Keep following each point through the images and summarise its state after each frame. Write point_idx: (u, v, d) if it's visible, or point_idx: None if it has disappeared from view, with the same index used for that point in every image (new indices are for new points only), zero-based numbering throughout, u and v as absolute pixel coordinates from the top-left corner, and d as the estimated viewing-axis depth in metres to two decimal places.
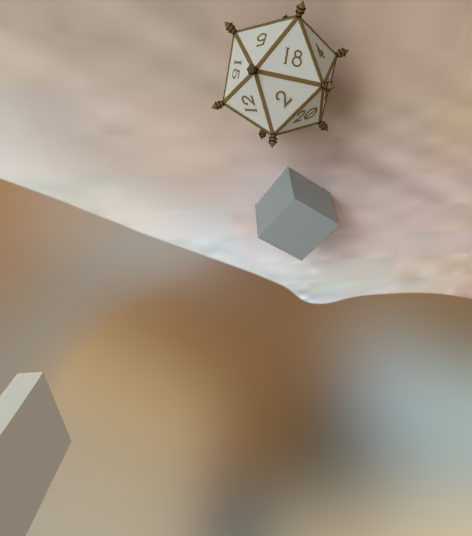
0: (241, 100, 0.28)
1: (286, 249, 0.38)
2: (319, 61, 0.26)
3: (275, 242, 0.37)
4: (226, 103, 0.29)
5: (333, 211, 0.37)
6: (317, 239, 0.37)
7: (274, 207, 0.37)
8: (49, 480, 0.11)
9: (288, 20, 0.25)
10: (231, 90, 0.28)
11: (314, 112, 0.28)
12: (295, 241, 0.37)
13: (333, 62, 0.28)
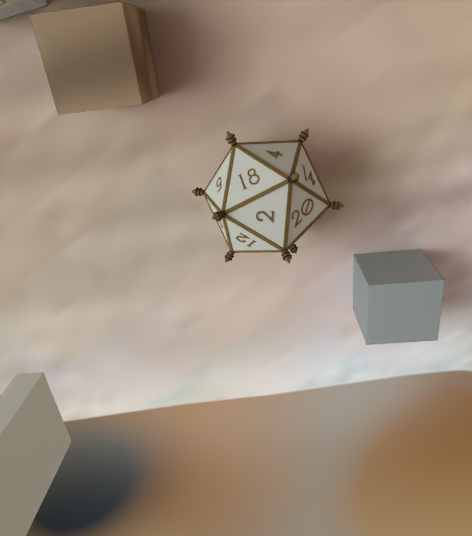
0: (239, 241, 0.26)
1: (408, 338, 0.30)
2: (276, 162, 0.24)
3: (389, 338, 0.30)
4: (234, 250, 0.28)
5: (431, 268, 0.30)
6: (434, 309, 0.29)
7: (362, 303, 0.31)
8: (49, 480, 0.11)
9: (229, 153, 0.25)
10: (227, 238, 0.27)
11: (311, 203, 0.25)
12: (411, 325, 0.30)
13: (297, 150, 0.25)
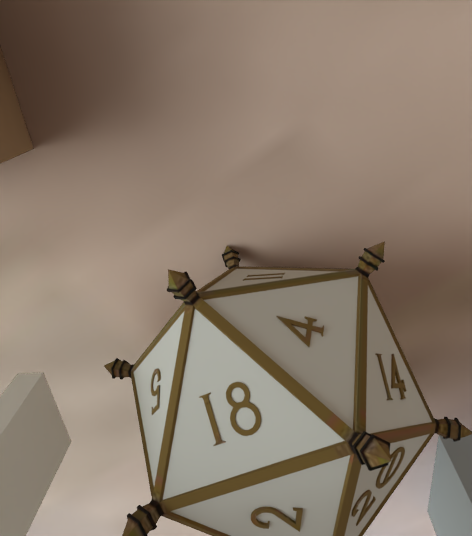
0: None
1: None
2: (309, 366, 0.08)
3: None
4: None
5: None
6: None
7: None
8: (49, 480, 0.11)
9: (180, 318, 0.09)
10: None
11: (399, 454, 0.09)
12: None
13: (361, 307, 0.10)
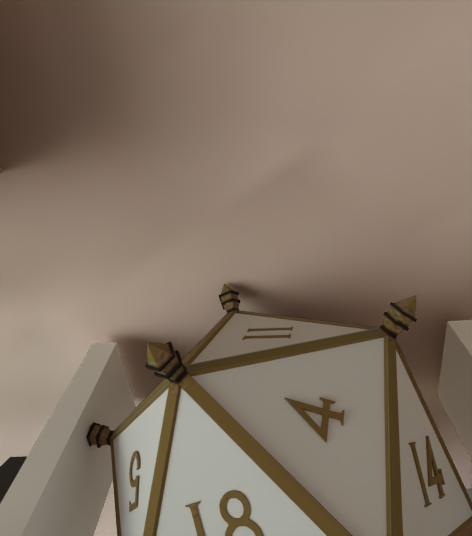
0: None
1: None
2: (327, 471, 0.06)
3: None
4: None
5: None
6: None
7: None
8: None
9: (163, 396, 0.08)
10: None
11: None
12: None
13: (390, 382, 0.08)
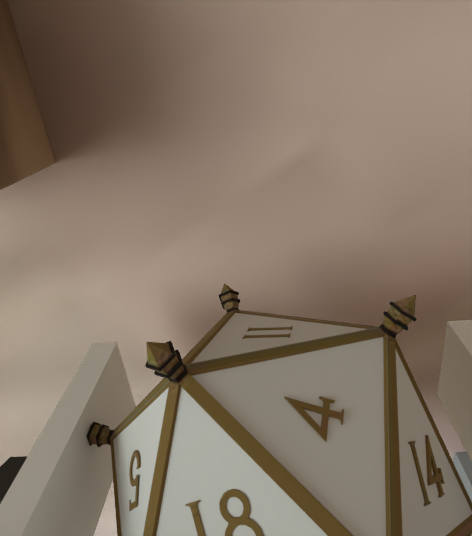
0: None
1: None
2: (327, 470, 0.06)
3: None
4: None
5: None
6: None
7: None
8: None
9: (163, 395, 0.08)
10: None
11: None
12: None
13: (389, 381, 0.08)
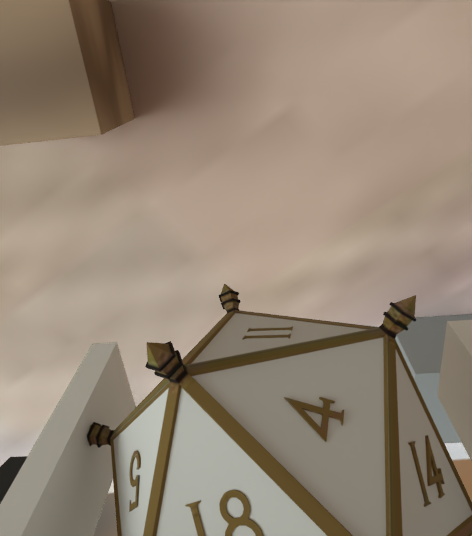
0: None
1: None
2: (327, 470, 0.06)
3: None
4: None
5: None
6: None
7: None
8: None
9: (163, 395, 0.08)
10: None
11: None
12: None
13: (390, 381, 0.08)
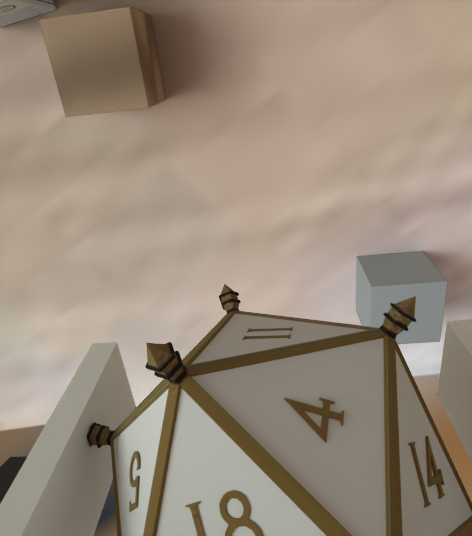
0: None
1: (411, 340, 0.31)
2: (327, 471, 0.06)
3: None
4: None
5: (434, 269, 0.30)
6: (437, 310, 0.29)
7: (365, 304, 0.31)
8: None
9: (163, 396, 0.08)
10: None
11: None
12: (414, 326, 0.30)
13: (390, 382, 0.08)
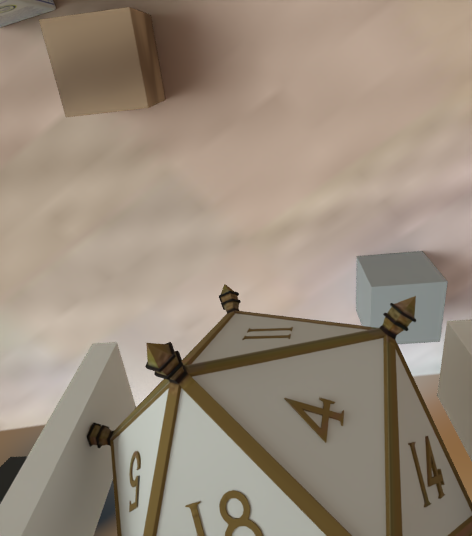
0: None
1: (411, 340, 0.31)
2: (327, 471, 0.06)
3: None
4: None
5: (434, 269, 0.30)
6: (437, 311, 0.29)
7: (365, 304, 0.31)
8: None
9: (163, 396, 0.08)
10: None
11: None
12: (414, 326, 0.30)
13: (390, 382, 0.08)
